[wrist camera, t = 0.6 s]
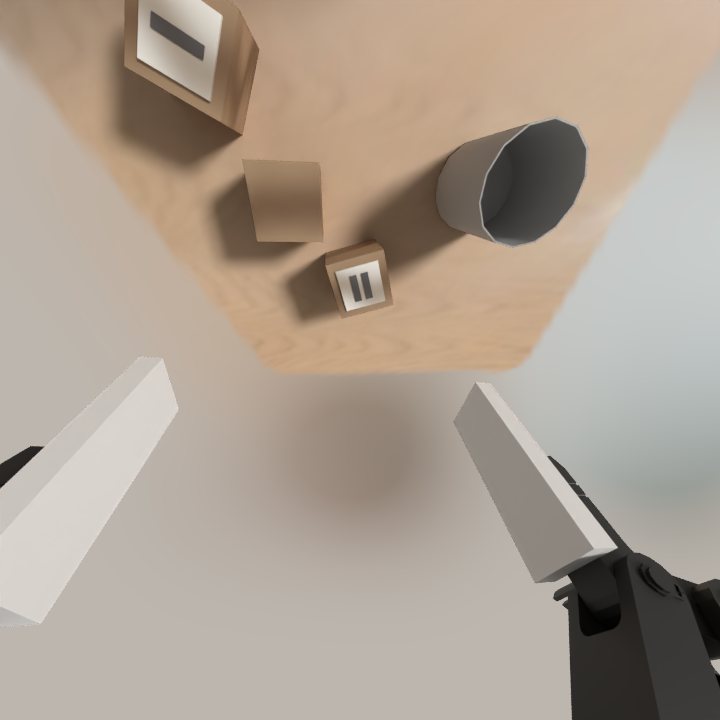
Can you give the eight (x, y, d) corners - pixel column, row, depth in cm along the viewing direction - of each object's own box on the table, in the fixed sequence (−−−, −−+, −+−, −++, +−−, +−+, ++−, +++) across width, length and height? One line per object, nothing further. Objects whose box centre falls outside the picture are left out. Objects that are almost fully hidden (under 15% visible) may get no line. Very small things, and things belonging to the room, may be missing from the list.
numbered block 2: (325, 252, 30) (325, 266, 25) (374, 239, 30) (384, 250, 25) (339, 299, 34) (341, 319, 29) (383, 287, 34) (393, 306, 28)
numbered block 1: (177, -8, 19) (122, -80, 14) (259, 49, 21) (237, 5, 16) (169, 92, 22) (121, 64, 17) (242, 135, 24) (219, 121, 19)
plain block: (258, 164, 25) (242, 159, 20) (320, 166, 26) (318, 162, 21) (269, 231, 29) (257, 241, 24) (323, 232, 29) (322, 242, 24)
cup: (436, 237, 31) (476, 256, 23) (433, 151, 26) (482, 135, 18) (506, 220, 30) (571, 233, 22) (516, 129, 26) (604, 104, 18)
